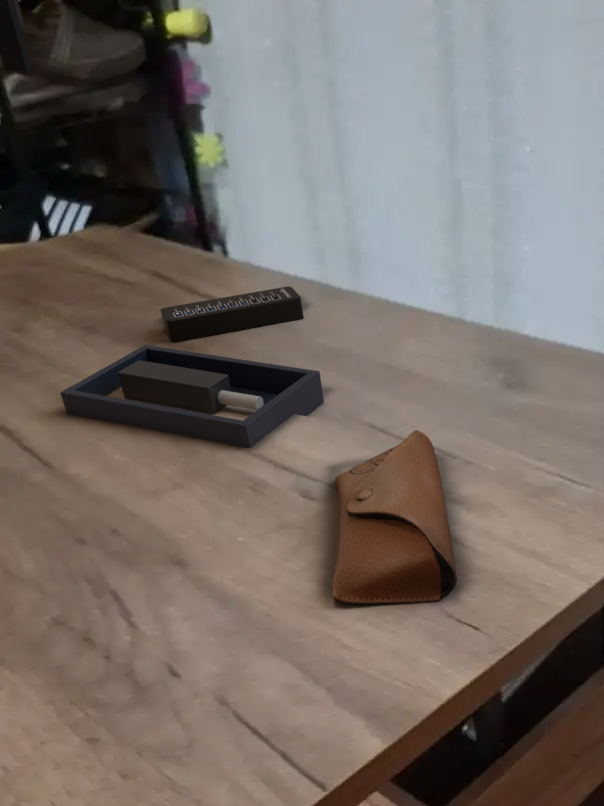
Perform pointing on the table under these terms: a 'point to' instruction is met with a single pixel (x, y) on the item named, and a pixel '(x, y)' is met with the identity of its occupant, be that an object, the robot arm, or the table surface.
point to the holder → (273, 383)
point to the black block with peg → (182, 388)
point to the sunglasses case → (394, 529)
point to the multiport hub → (231, 313)
